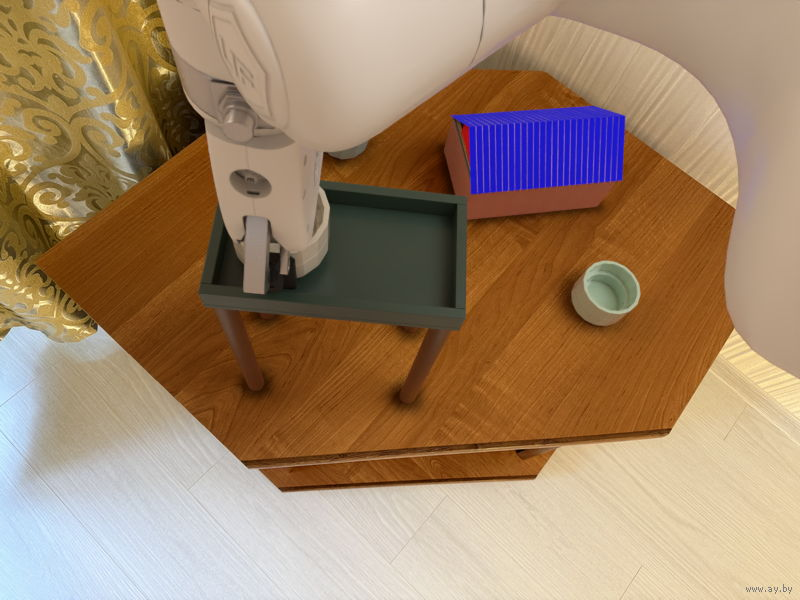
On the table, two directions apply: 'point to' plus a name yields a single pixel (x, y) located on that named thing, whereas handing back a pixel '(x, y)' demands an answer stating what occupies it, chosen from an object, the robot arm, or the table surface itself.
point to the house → (535, 159)
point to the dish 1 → (318, 243)
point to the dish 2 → (605, 293)
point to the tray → (359, 273)
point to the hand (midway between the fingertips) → (282, 236)
